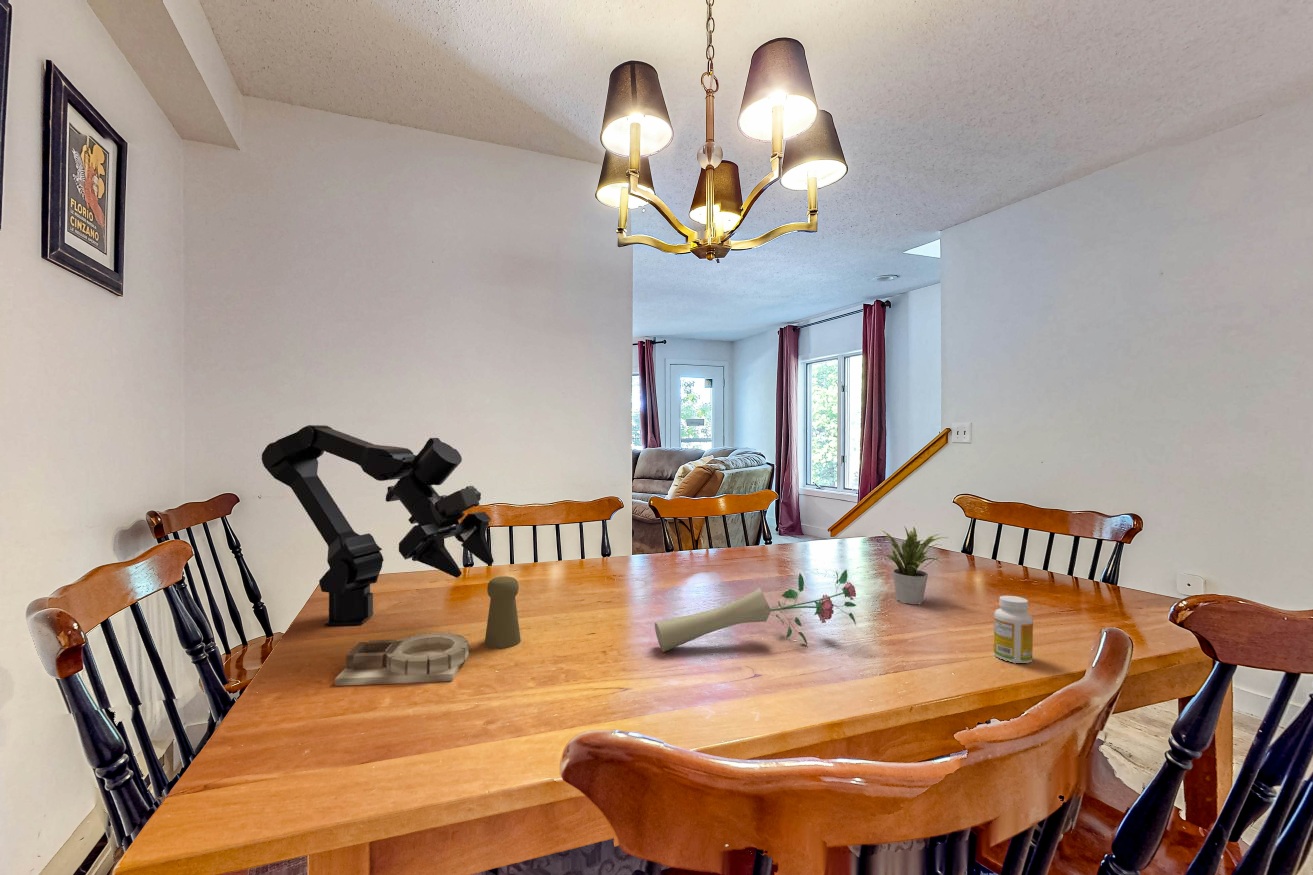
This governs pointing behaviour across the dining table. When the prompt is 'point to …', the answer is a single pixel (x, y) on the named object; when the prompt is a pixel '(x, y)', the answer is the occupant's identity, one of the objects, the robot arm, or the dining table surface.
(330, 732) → the dining table surface
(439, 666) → the holder
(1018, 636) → the supplement bottle
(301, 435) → the robot arm
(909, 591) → the house plant
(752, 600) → the flower vase
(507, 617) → the olive tapered knobbed peg
